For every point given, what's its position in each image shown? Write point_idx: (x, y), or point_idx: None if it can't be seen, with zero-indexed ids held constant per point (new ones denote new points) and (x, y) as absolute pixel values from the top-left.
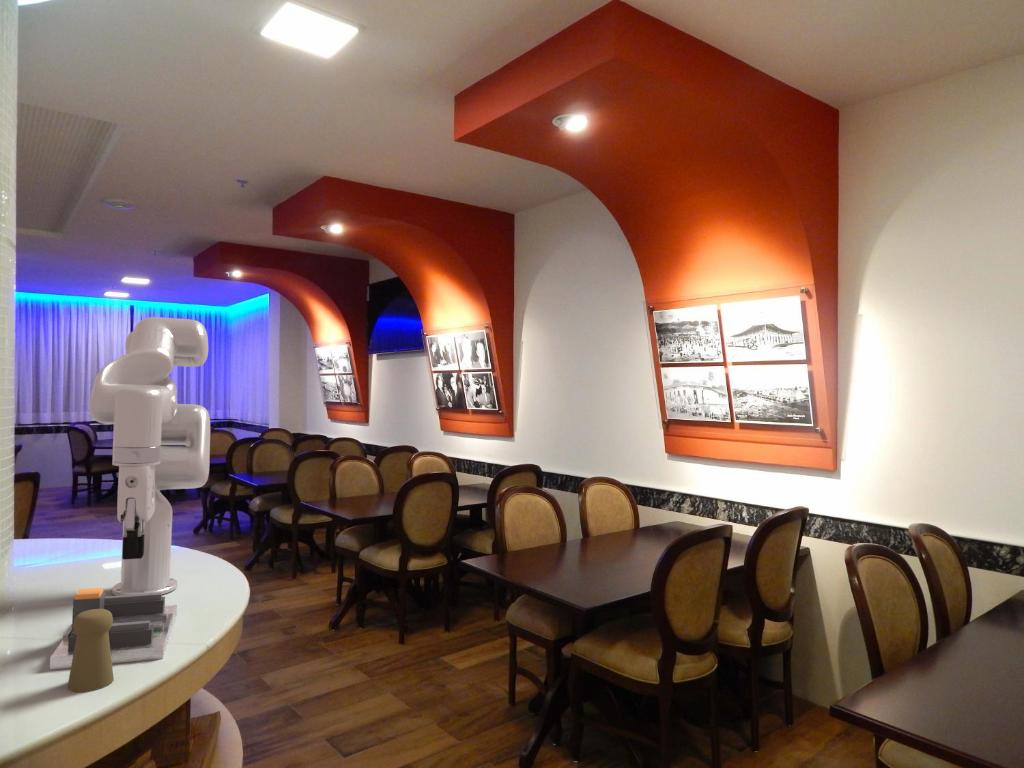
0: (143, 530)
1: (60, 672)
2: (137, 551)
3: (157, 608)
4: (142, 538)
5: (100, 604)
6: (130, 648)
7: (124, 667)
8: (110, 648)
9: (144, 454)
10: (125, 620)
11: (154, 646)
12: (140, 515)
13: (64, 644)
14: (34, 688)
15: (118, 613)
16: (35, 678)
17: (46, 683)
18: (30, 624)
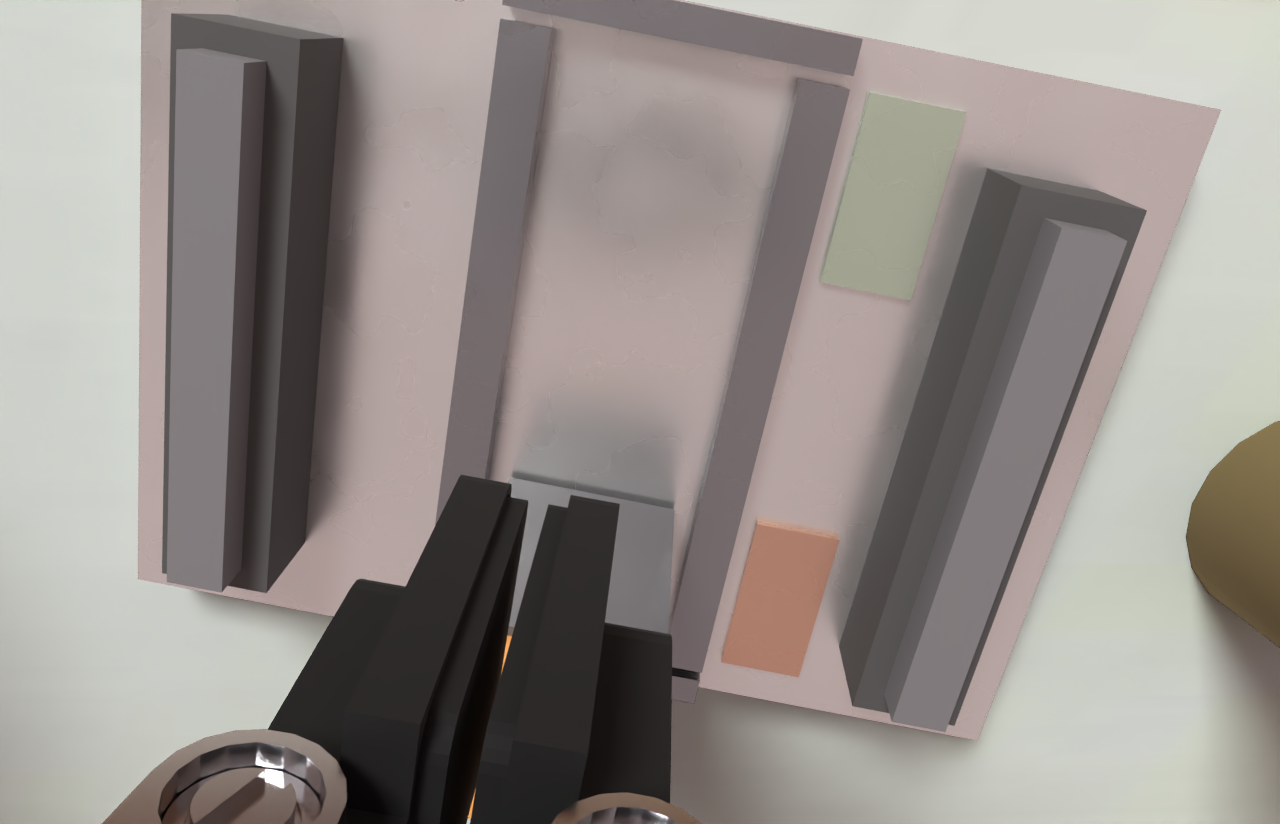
0: (173, 777)
1: (1027, 648)
2: (612, 632)
3: (321, 89)
4: (582, 727)
5: (634, 611)
6: (1107, 332)
7: (1175, 344)
8: None
9: None
10: (504, 342)
11: (1171, 171)
12: None
13: (781, 678)
14: (1183, 746)
15: (309, 381)
16: (1041, 744)
17: (1150, 703)
18: (119, 777)
